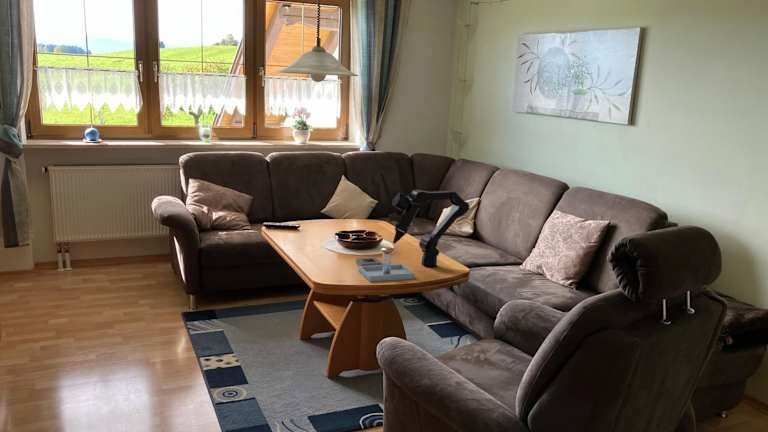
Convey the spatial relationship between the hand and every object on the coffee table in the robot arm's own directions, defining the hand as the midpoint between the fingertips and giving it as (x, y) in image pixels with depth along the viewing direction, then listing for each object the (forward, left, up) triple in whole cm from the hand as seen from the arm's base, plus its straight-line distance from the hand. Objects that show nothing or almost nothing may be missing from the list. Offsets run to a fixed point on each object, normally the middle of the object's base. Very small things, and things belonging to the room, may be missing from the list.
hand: (394, 242), depth 300 cm
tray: (+7, +10, -13) cm, 18 cm away
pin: (+7, +10, -12) cm, 17 cm away
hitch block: (+10, -7, -13) cm, 18 cm away
